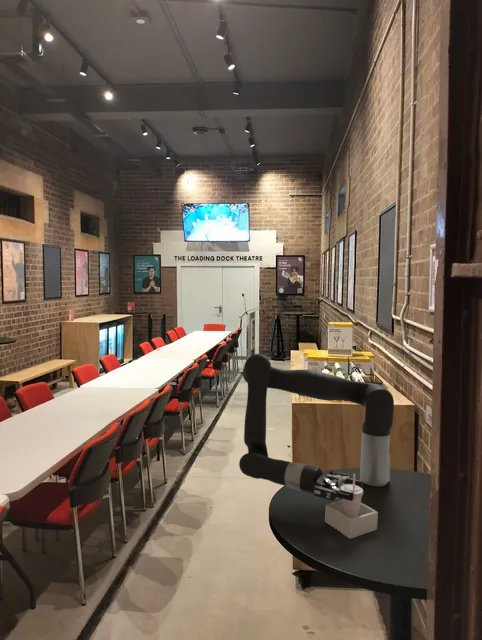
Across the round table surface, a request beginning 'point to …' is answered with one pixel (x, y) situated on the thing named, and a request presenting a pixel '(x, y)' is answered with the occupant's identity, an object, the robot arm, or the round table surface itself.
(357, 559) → the round table surface
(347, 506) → the smoothie
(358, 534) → the box
